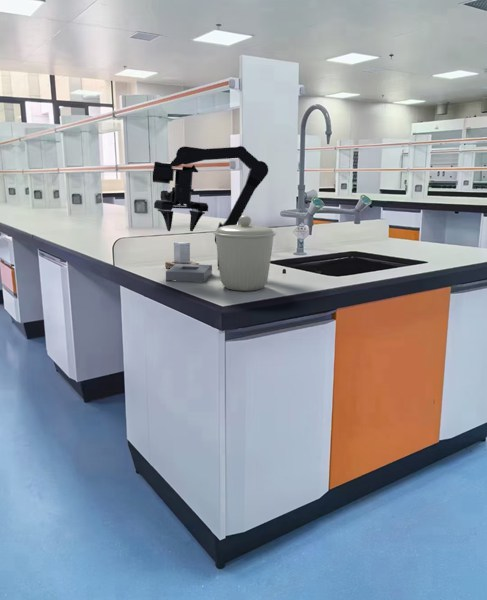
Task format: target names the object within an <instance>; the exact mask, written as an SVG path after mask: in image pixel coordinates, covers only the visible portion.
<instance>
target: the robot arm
mask: <svg viewBox="0 0 487 600" xmlns="http://www.w3.org/2000/svg"><path fill="white" fill-rule="evenodd" d="M228 159H229V160H231V159H239V161H241V163H242V164H243V165H245V166H246V167H247V169H249V171H248V173H247V178H246V180H245V184H244V186H243V188H242V190H241V192H240V194H239V195H238V198H237V199H236V201H235V203H234V205H233V207H232V209H231V211H230V213H229V215H228V217H227V219H226V220H225V221H224V222H223V223H222V222H220V221H219V223H218V226H217V228H216V230H217V229H218V228H220V227H223V226H229V225H238V223H239V218H240V217H241V216H243V213H244V212H245V209H246V208H247V205H248V204H249V202H250V200H251V198H252V197H253V195H254V192H255V191H256V189H257V188H258V186H259V185H260V184H261V183H262V182H263V181H264V179H265V178H266V176H267V175H268V173H269V165H268V164H267V163H266V162H264V161H262V160H258V159H257V158H256V156H254V155H253V154H252V153H250V152H249V151H248V150H247V149H246V147H245V146H242V145H238V146H233V147H231V146H230V147H215V148H214V147H213V148H199V147H191V146H186V145H185V146H184V145H183V146H181V147H179V148H178V149H177V150H176V156H175V158H173V160H172V161H171V162H170V163H167V162H166V163H165V162H159V161H154V163H153V171H152V183H159V184H171V182H173V181H174V186H173V187H172V188H171V192H169V191H168V190H165V189H164V190H161V191H160V195H159V196H160V197H159V198H160V199H156V200H155V201H154V203H153V205H154V206H153V208H154V209H157V211H158V212H160V213H161V215H162V216H163V217H162V218H163V219H164V222H165V226H166V230H167V232H171V228H172V224H173V223H172V222H173V216H174V211H173V209H184V210H185V209H186V210H187V209H188V210H189V213H190V214H189V215H190V222H189V231H190V232H193V231H194V229H195V228H196V226H197V224H198V222H199V220H200V219H201V217H202V216H203V215H205V212H209V205H208V203H206V202H201V201H194V200H193V201H192V193H194V192H195V191H194V188H192V187H193V173H199V170H198V169H197V168H196V166H195V164H196V163H199V162H203V161H209V160H210V161H211V160H213V161H214V160H228ZM194 163H195V164H194ZM191 164H193V165H191ZM182 165H183V166H182ZM184 165H186V166H184ZM187 165H191V166H187ZM180 166H182V168H181V169H180V168H173V167H180ZM174 174H175V175H174ZM174 176H175V178H174ZM214 242H215V244H216V235H215V234H214ZM217 267H218V268H217V269H218V270H219V263H218V262H217Z"/></svg>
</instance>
